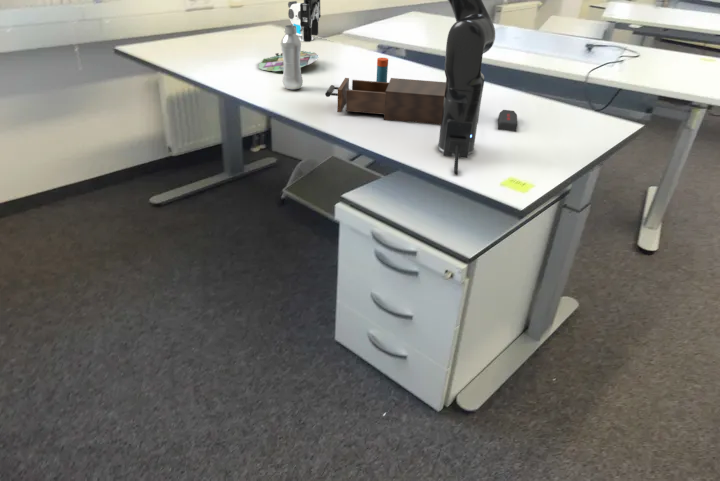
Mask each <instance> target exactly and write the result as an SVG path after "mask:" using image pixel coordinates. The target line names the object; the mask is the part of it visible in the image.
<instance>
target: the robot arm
mask: <svg viewBox="0 0 720 481" xmlns="http://www.w3.org/2000/svg"><path fill="white" fill-rule="evenodd" d="M447 1H448V3H449V5H450V7H451V10H452V14H453V16H454V18H455V22H454V23H453V24H452V25H451V27H450V28H449V31H448V34H447V38H446V44H445V45H446V46H445V58H444V75H445V82H446V86H445V95H444V102H443V111H442V119H441V125H440V128H439V138H438V144H437V151H439V153H441V154H442V155H443V156H444V157H453V158H454V165H453V174H454V175H458V173H459V169H458V168H459V159H460V158H463V159H468V157H470V156H472V155H473V154H474V151H475V142H476V135H477V129H478V123H479V116H480V110H481V104H482V97H483V91H484V85H485V75H484V74H483V73H482V63H483V57H484V56H483V55H484V54H485V53H487V52H488V51H490V49H491V48H493V45H494V43H495V40H496V28H495V24H494V22H493V19H492V17H491V16H490V13H489V12H488V10H487V8H486V6H485V4H484V2H483V0H447ZM300 3H301V4H300V22H301V23H300V25H301V26H302V27H304V28H303V39H304V41H306V42H307V43H310V42H312V41H313V40H312V37H313V36H318V35H319V22H320V18H321V16H322V15H321V0H303V2H300ZM306 20H307V22H305V21H306ZM311 40H312V41H311ZM306 42H305V43H306Z"/></svg>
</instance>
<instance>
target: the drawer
mask: <svg viewBox="0 0 720 481" xmlns="http://www.w3.org/2000/svg"><path fill="white" fill-rule="evenodd" d="M388 84H389V82H388V81H387V82H376V81H372V80H363V79H362V80H361V79H352V80H351V89H350V88H349V87H350V77H344V79H343V81H342V82H341V84H340V85H339V86H335V85H333V84H330V85H329V87H328V89H327V90H326V92H325V96H326V98H329V97H331V96H335V97H337V107H336V108H337V109H336V110H337V113H342V112H343V110H344V108H345V111H346V112H354V113H364V114H367V113H368V114H375V115H376V114H378V115H384V112H385V95H386V89H387V87H388ZM335 90H336V91H337V92H334V91H335Z"/></svg>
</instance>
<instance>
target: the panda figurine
mask: <svg viewBox="0 0 720 481" xmlns="http://www.w3.org/2000/svg"><path fill="white" fill-rule="evenodd" d="M301 3H302V2H298V1H297V0H292V1H288V3H287V5H288V6H287V8H289V9H288V12H287V14H288V16H287V17H288V18H289V21H290V23H291V24H290V25H294V26H296V31H297V33H296V35H297V36H298V38H299V39H300V41H301V43H306V41H304V39H303V28H304V27H302V26H301V25H300V23H301V22H300V4H301ZM305 22H307V20H306V21H305ZM312 41H314V37H313V36H312V40H311V41H310V42H312Z"/></svg>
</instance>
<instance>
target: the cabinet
mask: <svg viewBox="0 0 720 481" xmlns="http://www.w3.org/2000/svg"><path fill="white" fill-rule="evenodd" d="M388 83H389V84H388V87H387V89H386V95H385V112H384V114H383V120H384V121H395V122H406V123H418V124H428V125H439V126H441V119H442V111H443V102H444V95H445V86H446V81H436V80H423V79H409V78H399V77H398V78H397V77H390V79H389V82H388Z"/></svg>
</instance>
